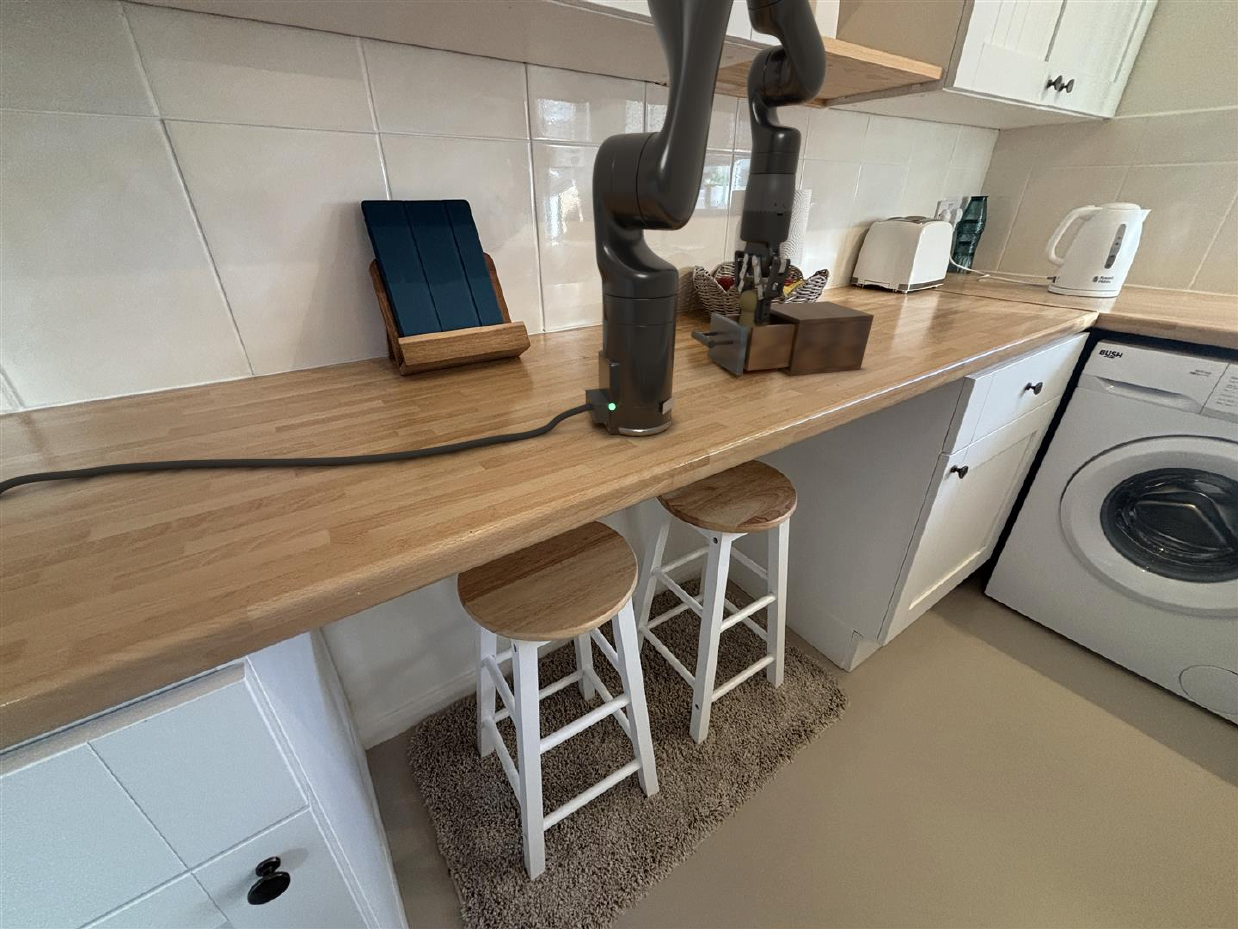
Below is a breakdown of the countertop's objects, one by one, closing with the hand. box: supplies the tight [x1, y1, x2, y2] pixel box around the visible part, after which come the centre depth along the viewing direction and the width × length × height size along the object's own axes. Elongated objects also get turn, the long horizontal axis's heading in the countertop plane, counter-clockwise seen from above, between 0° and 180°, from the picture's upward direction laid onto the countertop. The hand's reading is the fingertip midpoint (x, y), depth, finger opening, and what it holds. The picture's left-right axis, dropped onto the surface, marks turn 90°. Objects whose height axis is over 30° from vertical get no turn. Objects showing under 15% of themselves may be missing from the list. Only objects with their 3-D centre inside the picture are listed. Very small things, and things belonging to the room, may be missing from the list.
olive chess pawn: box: [738, 289, 766, 359], centre depth 86 cm, size 6×6×11 cm
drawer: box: [690, 312, 797, 376], centre depth 87 cm, size 18×11×8 cm, turn 106°
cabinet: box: [770, 300, 875, 377], centre depth 90 cm, size 15×13×10 cm
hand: (752, 317), depth 85 cm, fingers closed on olive chess pawn, 5 cm apart
